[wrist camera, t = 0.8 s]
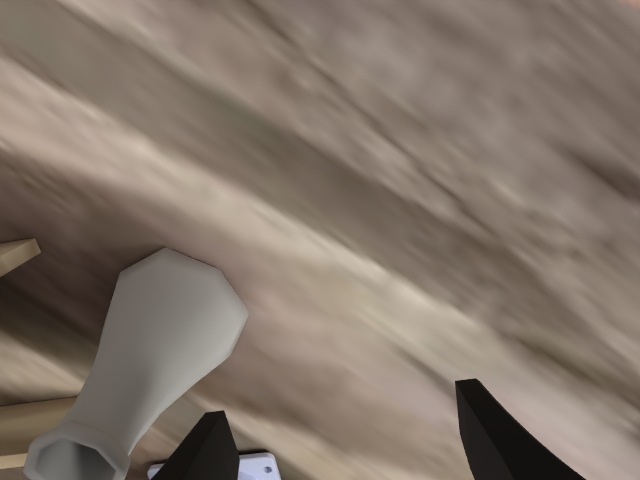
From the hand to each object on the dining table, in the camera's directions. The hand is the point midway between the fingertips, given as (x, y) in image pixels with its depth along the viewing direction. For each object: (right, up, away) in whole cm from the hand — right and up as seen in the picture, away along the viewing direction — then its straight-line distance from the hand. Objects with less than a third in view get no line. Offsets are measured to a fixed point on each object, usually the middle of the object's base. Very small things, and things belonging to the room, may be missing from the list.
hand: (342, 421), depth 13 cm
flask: (-8, +2, +10) cm, 13 cm away
